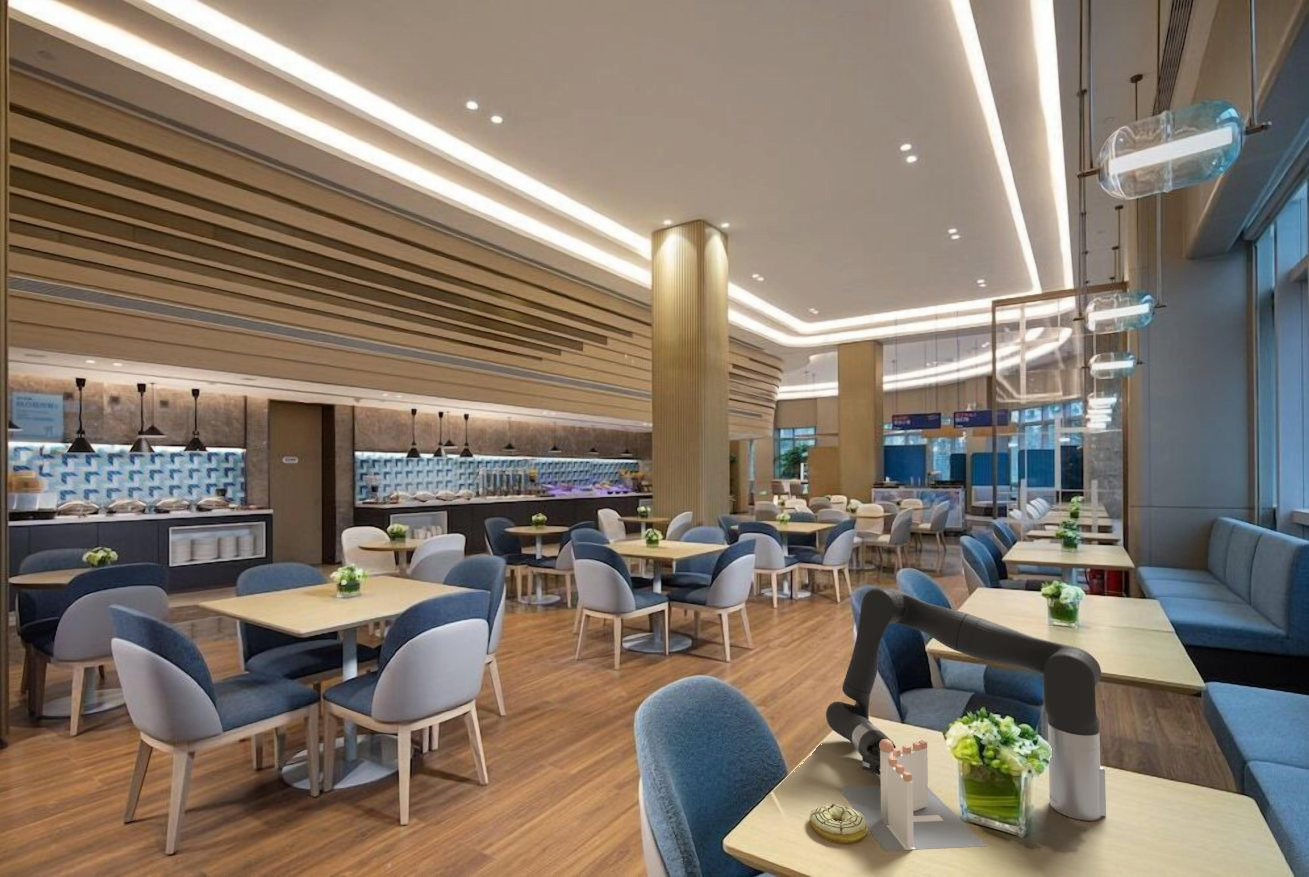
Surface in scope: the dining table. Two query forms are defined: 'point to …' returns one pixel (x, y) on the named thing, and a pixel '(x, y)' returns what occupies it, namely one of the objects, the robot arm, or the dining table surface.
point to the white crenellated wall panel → (915, 770)
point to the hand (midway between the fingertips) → (907, 780)
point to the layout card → (929, 823)
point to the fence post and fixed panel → (896, 794)
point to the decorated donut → (838, 823)
